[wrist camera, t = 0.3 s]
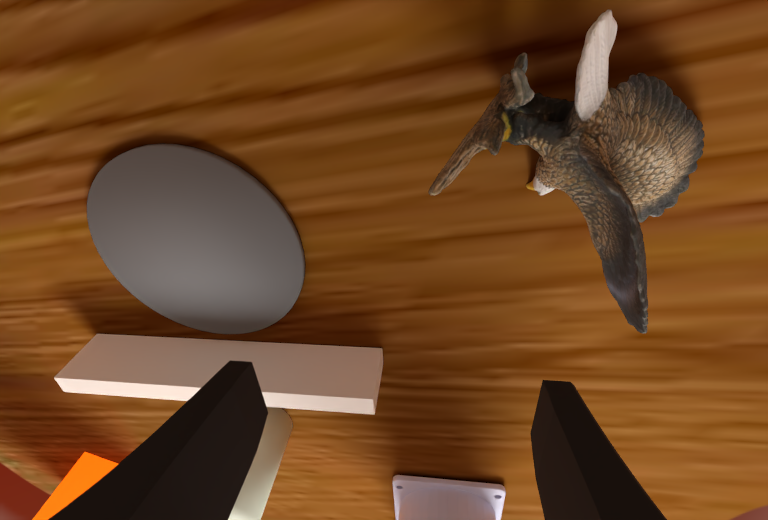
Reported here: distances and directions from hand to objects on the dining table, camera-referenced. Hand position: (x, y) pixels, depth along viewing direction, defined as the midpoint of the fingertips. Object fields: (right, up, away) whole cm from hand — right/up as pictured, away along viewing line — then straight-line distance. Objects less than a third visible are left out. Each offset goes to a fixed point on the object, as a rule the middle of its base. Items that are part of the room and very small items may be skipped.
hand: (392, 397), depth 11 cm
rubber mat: (-10, +4, +11) cm, 15 cm away
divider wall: (-9, -2, +15) cm, 17 cm away
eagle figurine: (+7, +8, +6) cm, 12 cm away
